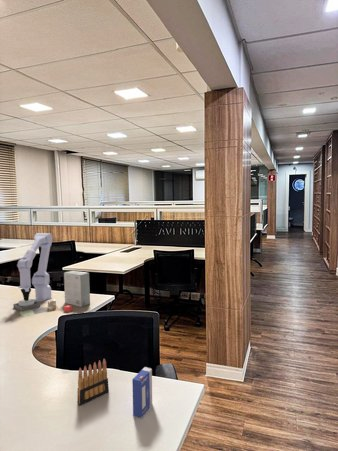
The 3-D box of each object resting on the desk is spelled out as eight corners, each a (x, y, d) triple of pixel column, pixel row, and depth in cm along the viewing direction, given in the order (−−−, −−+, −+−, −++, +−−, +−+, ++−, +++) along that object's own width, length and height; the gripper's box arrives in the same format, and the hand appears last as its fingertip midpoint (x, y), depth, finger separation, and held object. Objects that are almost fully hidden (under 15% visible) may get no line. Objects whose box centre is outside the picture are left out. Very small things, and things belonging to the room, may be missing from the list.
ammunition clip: (80, 406, 103) (78, 370, 102) (77, 403, 104) (76, 367, 103) (109, 392, 110) (108, 358, 109) (106, 390, 111) (105, 356, 110)
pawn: (54, 306, 198) (54, 298, 198) (56, 308, 194) (55, 300, 194) (48, 308, 196) (47, 300, 196) (49, 310, 192) (48, 301, 192)
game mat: (56, 305, 201) (56, 305, 201) (59, 309, 193) (59, 309, 193) (19, 311, 190) (19, 311, 190) (21, 316, 183) (21, 316, 183)
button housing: (30, 303, 206) (30, 299, 205) (39, 307, 199) (39, 303, 198) (13, 308, 197) (13, 304, 197) (22, 312, 190) (21, 307, 190)
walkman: (141, 418, 97) (140, 380, 96) (133, 415, 98) (132, 378, 97) (153, 403, 104) (152, 367, 103) (145, 401, 105) (144, 365, 104)
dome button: (30, 301, 204) (29, 298, 204) (37, 304, 198) (37, 300, 198) (15, 305, 197) (15, 301, 197) (22, 308, 191) (22, 304, 191)
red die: (67, 310, 192) (67, 304, 192) (71, 310, 191) (71, 305, 191) (64, 312, 189) (63, 306, 189) (68, 312, 188) (68, 306, 188)
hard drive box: (90, 303, 204) (89, 272, 202) (81, 307, 197) (80, 275, 196) (73, 300, 212) (72, 270, 210) (64, 303, 206) (63, 272, 204)
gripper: (16, 277, 201) (17, 298, 202) (19, 282, 188) (20, 304, 189) (29, 275, 204) (30, 296, 205) (32, 280, 192) (33, 302, 193)
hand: (26, 300), depth 197 cm, fingers closed
